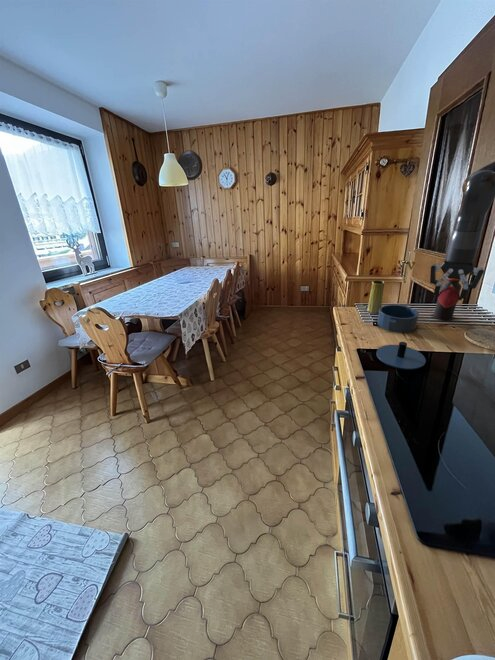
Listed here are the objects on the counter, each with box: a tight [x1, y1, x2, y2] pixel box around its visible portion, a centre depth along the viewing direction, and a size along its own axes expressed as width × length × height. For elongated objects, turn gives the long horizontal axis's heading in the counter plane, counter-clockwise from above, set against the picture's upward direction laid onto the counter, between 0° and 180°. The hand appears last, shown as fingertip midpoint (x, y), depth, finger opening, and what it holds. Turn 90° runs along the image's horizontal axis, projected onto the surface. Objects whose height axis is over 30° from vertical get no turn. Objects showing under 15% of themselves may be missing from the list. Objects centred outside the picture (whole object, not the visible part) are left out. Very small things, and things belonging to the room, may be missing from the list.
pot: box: [377, 304, 419, 333], centre depth 119 cm, size 14×20×6 cm
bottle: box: [433, 278, 462, 322], centre depth 119 cm, size 7×7×20 cm
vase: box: [366, 279, 385, 314], centre depth 131 cm, size 6×6×14 cm
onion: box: [437, 284, 460, 308], centre depth 93 cm, size 6×6×8 cm
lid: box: [375, 341, 427, 371], centre depth 97 cm, size 15×15×6 cm
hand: (448, 297), depth 93 cm, fingers closed on onion, 6 cm apart
